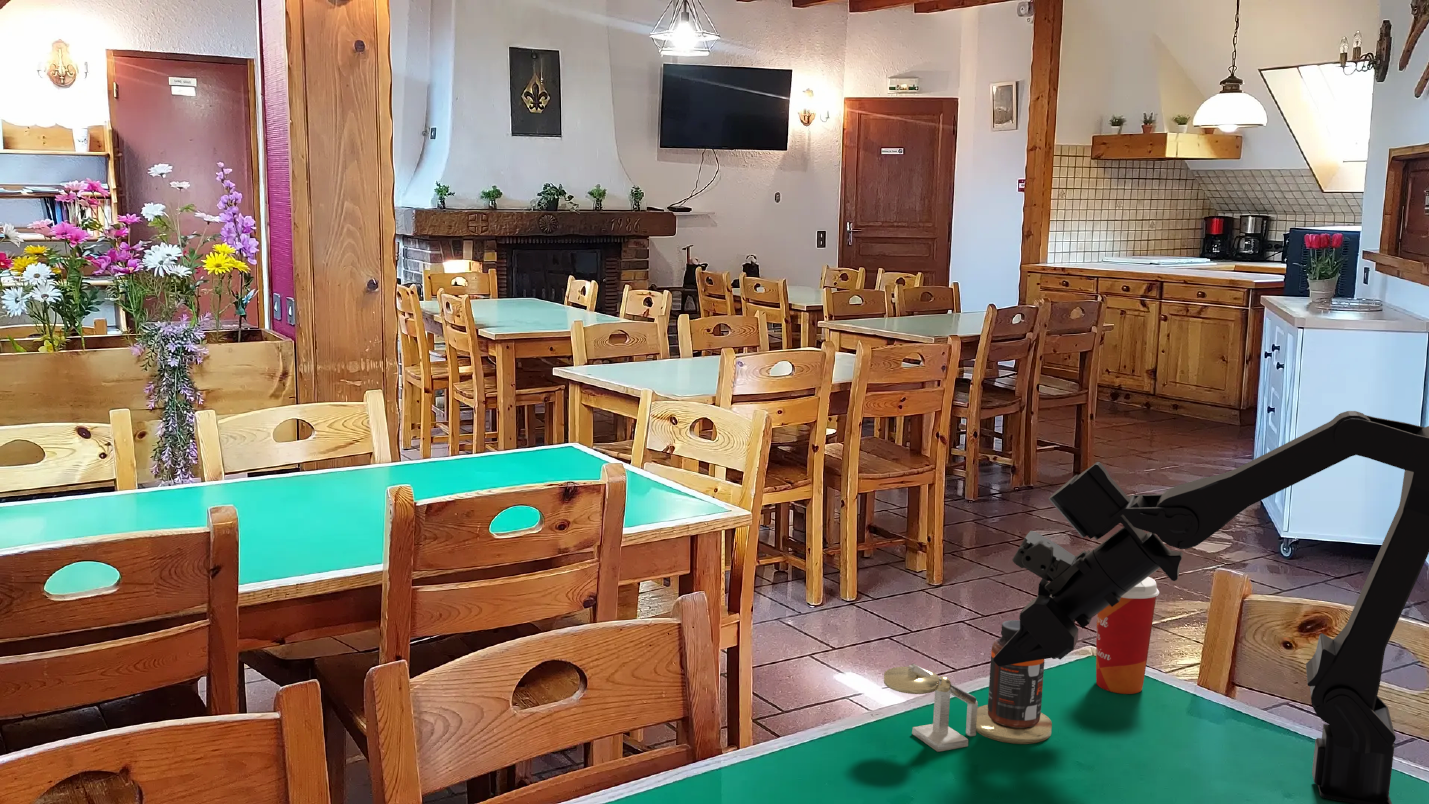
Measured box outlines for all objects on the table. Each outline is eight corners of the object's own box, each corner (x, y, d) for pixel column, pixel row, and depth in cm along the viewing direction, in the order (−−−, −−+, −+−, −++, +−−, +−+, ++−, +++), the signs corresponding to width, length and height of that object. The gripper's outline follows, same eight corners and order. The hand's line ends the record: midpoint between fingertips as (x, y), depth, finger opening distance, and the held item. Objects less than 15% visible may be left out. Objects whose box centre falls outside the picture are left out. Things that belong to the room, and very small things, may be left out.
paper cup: (1095, 670, 160) (1103, 566, 158) (1156, 682, 156) (1165, 576, 154) (1080, 689, 153) (1088, 581, 151) (1143, 702, 149) (1152, 592, 147)
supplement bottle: (1046, 731, 137) (1053, 634, 136) (993, 729, 137) (999, 633, 136) (1032, 709, 143) (1039, 617, 142) (982, 708, 143) (987, 615, 142)
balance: (1017, 707, 147) (1022, 632, 145) (1068, 736, 138) (1073, 657, 137) (863, 733, 138) (867, 653, 136) (907, 766, 130) (911, 682, 128)
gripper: (1072, 496, 144) (974, 574, 150) (1047, 531, 127) (937, 617, 133) (1138, 570, 142) (1035, 646, 148) (1121, 616, 125) (1006, 699, 131)
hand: (1003, 650), depth 140 cm, fingers open, 9 cm apart
